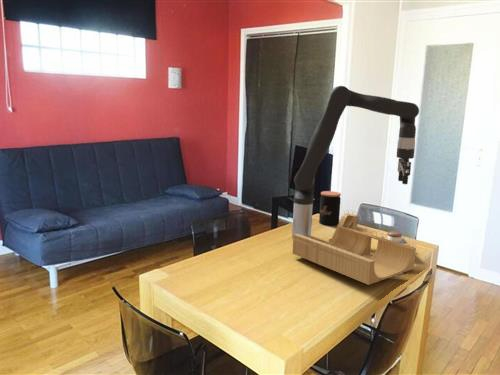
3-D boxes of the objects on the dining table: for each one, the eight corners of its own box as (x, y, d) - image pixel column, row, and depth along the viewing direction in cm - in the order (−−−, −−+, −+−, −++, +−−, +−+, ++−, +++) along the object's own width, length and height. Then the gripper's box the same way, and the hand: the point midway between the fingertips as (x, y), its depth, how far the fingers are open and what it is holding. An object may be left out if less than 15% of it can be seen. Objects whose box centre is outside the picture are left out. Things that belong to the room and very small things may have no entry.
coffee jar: (315, 223, 239) (317, 191, 236) (331, 222, 244) (333, 190, 240) (326, 228, 230) (328, 195, 226) (342, 226, 234) (345, 194, 231)
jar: (387, 249, 197) (389, 234, 195) (385, 245, 203) (386, 230, 202) (401, 250, 196) (403, 235, 195) (398, 246, 202) (399, 231, 201)
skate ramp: (291, 255, 187) (293, 219, 184) (346, 242, 208) (348, 209, 205) (367, 287, 156) (371, 244, 153) (422, 267, 177) (426, 229, 174)
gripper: (394, 145, 205) (391, 179, 208) (400, 148, 191) (397, 184, 194) (410, 146, 204) (407, 180, 207) (418, 149, 190) (414, 185, 193)
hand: (402, 182), depth 200 cm, fingers open, 8 cm apart
